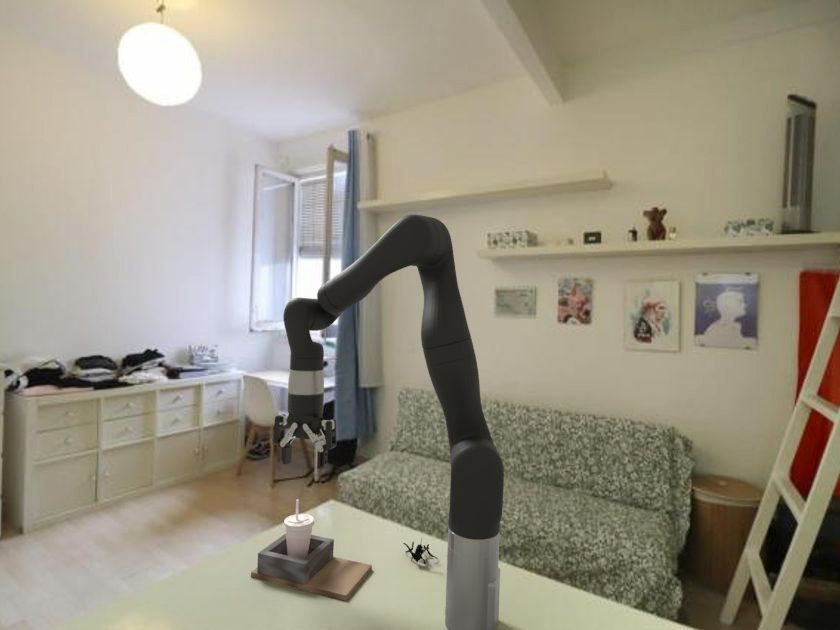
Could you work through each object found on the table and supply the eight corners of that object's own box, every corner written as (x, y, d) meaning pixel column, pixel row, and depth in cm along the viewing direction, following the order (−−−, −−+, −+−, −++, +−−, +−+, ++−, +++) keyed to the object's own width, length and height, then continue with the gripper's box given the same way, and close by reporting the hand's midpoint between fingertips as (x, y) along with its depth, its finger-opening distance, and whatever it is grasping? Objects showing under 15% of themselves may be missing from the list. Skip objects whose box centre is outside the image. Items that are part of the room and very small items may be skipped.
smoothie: (279, 560, 101) (282, 495, 101) (309, 554, 104) (312, 492, 104) (284, 575, 95) (287, 507, 95) (315, 569, 98) (318, 503, 98)
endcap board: (371, 569, 100) (372, 546, 100) (346, 600, 89) (346, 574, 89) (285, 550, 107) (285, 528, 107) (250, 576, 96) (251, 552, 96)
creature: (408, 554, 110) (397, 562, 103) (410, 530, 111) (400, 536, 104) (440, 560, 108) (431, 569, 100) (442, 535, 109) (433, 542, 102)
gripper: (343, 390, 101) (341, 465, 101) (288, 386, 106) (285, 457, 105) (326, 395, 94) (323, 475, 94) (267, 390, 99) (264, 466, 98)
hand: (303, 465), depth 100 cm, fingers open, 8 cm apart
